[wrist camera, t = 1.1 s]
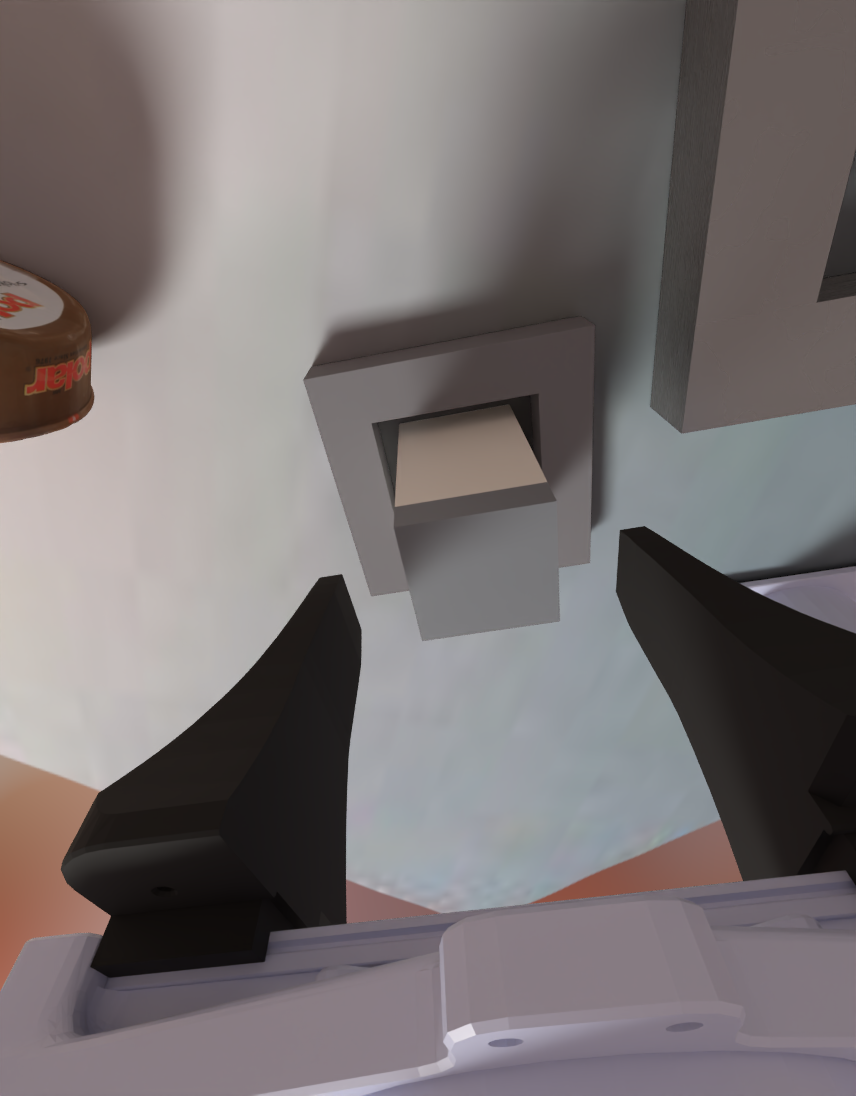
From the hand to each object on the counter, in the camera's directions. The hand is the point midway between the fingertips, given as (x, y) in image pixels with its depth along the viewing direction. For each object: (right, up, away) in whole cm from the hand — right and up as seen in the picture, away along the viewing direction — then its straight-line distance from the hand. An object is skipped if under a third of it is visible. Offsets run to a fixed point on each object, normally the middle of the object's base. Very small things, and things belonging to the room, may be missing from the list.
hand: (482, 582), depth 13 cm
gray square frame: (0, +4, +6) cm, 7 cm away
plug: (0, +4, +6) cm, 7 cm away
